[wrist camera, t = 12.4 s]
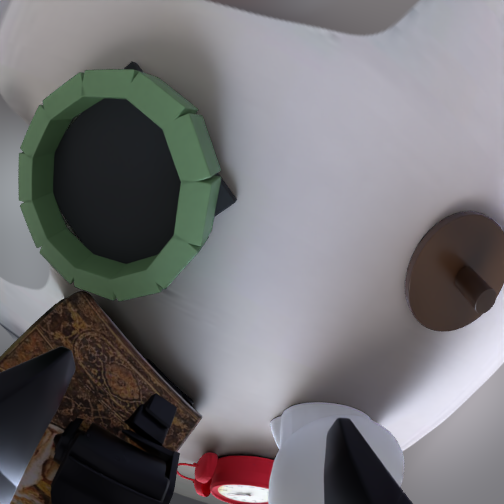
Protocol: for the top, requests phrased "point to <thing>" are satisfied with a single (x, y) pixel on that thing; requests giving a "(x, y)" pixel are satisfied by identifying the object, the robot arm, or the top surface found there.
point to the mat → (120, 181)
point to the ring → (185, 159)
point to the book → (91, 385)
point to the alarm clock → (233, 478)
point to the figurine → (320, 450)
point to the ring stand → (456, 271)
